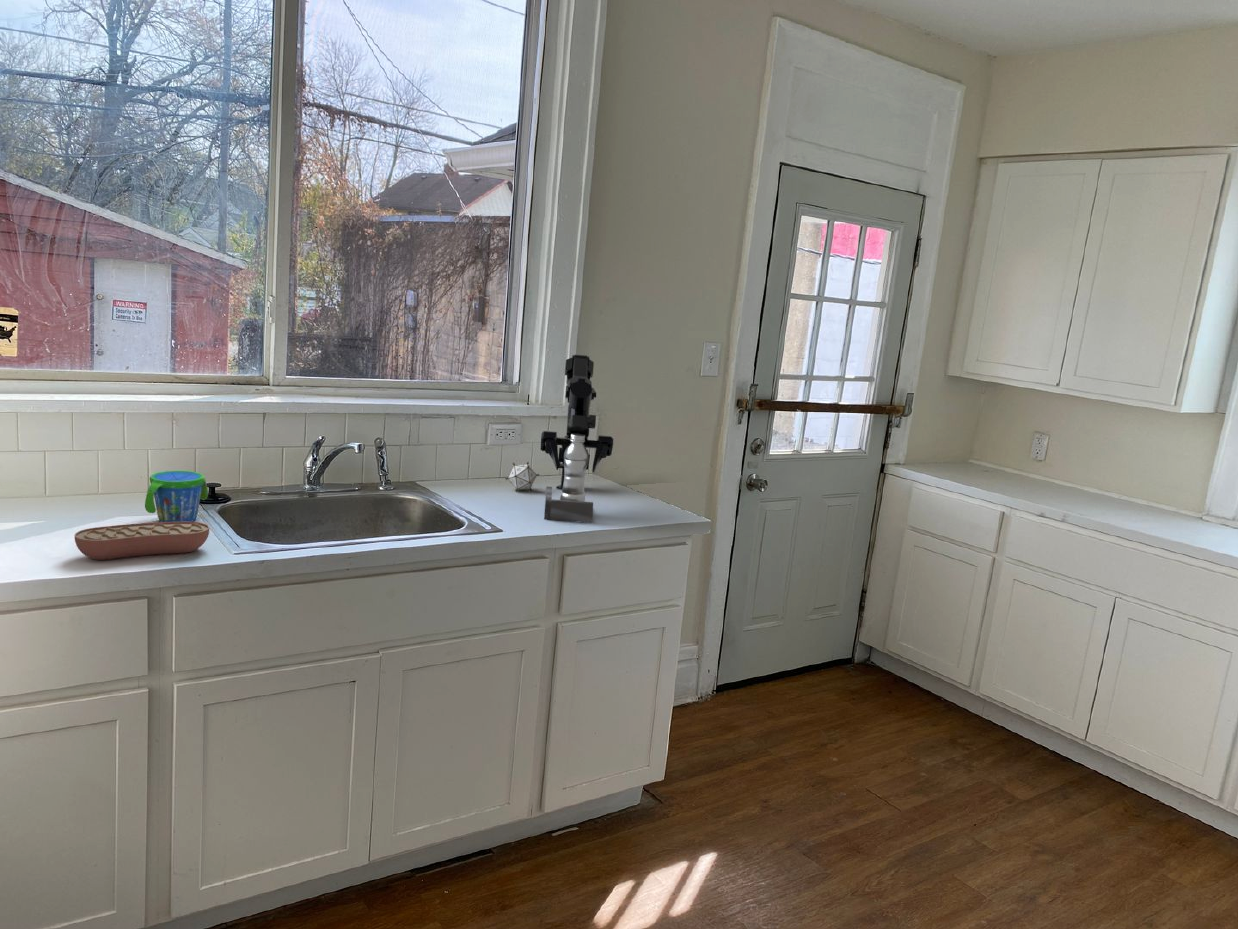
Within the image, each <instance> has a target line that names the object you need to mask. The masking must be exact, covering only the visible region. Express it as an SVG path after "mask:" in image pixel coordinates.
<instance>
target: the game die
mask: <svg viewBox="0 0 1238 929" xmlns="http://www.w3.org/2000/svg"><path fill="white" fill-rule="evenodd" d="M512 465H513V467H512V469H511V471H510V473H509V475H508V477H506V478H504V480H505V481H509V482H510V483H511V484H512V486H514V488H515V492H516V493H517V492H518V491H519V490H530V491H531V492H533V489H532V487H533V485H534V483H535V480H536V478H537V477H539V476H540V474H539V473H536V472H535V471H534V469H532V467H531V465H529V461H527V462H526V463H525V464H523V463H522V464H516V463H515V462H512Z"/></svg>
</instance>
